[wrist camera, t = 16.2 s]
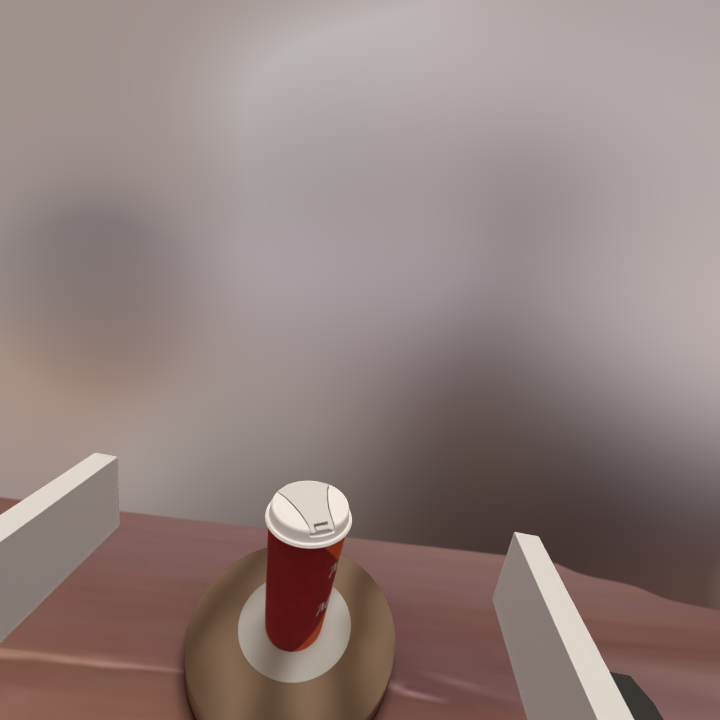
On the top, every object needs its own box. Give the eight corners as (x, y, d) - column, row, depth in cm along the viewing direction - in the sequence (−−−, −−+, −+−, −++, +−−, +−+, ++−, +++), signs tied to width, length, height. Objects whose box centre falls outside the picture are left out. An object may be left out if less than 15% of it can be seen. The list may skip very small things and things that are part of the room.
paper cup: (344, 648, 35) (368, 525, 31) (261, 677, 31) (277, 543, 28) (317, 580, 41) (335, 472, 38) (247, 598, 38) (258, 481, 34)
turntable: (392, 573, 46) (395, 560, 46) (391, 796, 27) (396, 778, 27) (237, 543, 47) (238, 529, 47) (131, 739, 28) (131, 720, 27)
